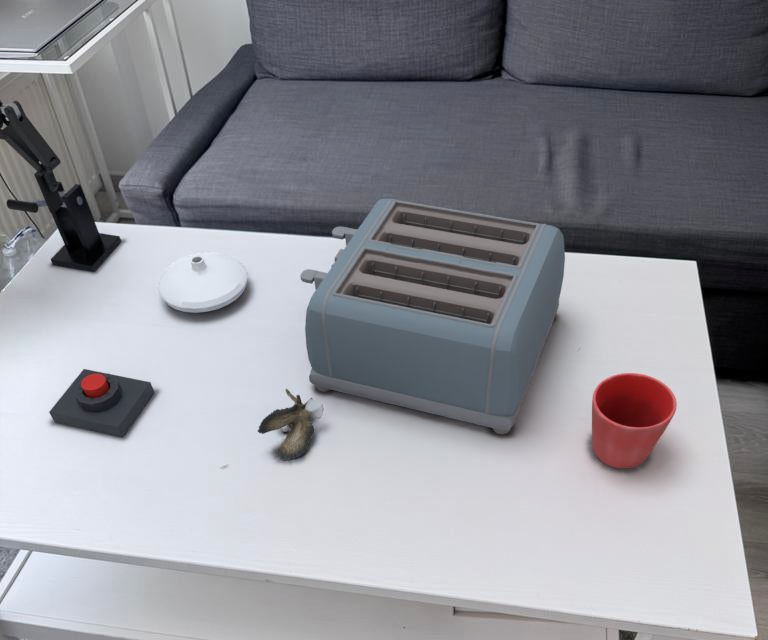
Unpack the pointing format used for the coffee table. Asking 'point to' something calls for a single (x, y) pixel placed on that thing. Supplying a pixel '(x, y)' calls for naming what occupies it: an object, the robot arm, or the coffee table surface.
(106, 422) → the control block
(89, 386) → the button
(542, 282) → the toaster
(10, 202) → the lever
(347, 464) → the coffee table surface
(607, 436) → the flower pot
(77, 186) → the bracket
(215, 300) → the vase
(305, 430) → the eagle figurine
